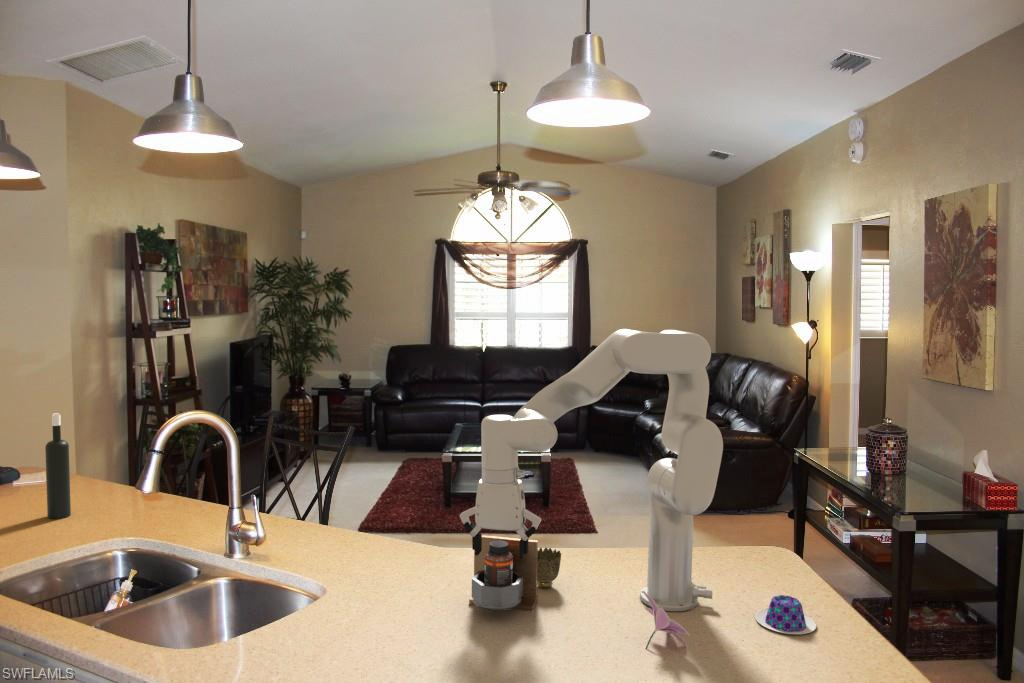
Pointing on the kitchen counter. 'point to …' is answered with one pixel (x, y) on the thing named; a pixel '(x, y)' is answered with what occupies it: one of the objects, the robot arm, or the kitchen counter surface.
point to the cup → (547, 567)
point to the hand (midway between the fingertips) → (500, 555)
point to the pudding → (785, 616)
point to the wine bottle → (57, 473)
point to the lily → (664, 622)
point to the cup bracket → (524, 578)
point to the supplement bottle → (498, 564)
